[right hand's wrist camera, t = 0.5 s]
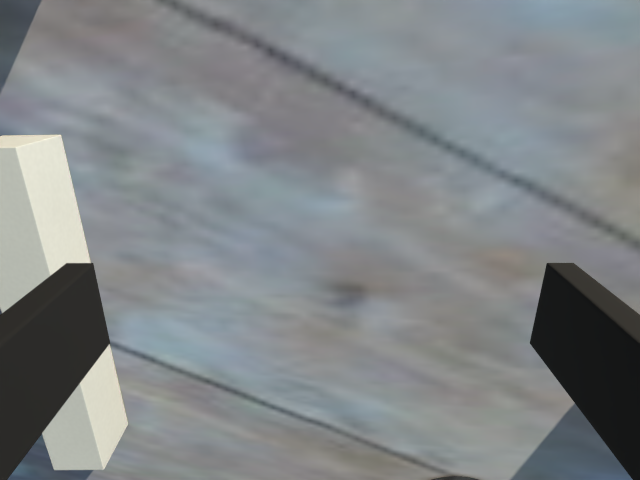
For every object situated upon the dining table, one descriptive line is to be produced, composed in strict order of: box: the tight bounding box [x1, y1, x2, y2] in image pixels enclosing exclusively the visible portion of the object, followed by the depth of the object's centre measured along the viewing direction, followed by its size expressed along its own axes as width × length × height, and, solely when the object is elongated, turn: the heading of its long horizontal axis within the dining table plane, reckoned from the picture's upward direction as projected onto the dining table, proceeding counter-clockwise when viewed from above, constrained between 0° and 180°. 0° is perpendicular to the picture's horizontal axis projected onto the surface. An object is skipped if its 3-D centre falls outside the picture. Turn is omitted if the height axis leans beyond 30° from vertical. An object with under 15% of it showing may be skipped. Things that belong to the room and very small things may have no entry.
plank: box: [0, 135, 128, 470], centre depth 40 cm, size 32×5×6 cm, turn 1°
